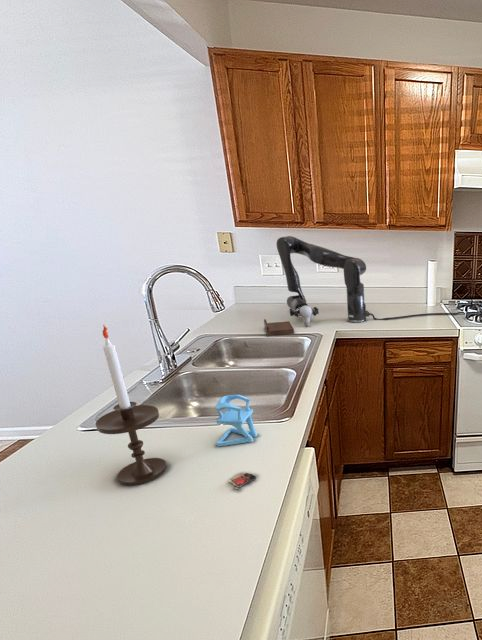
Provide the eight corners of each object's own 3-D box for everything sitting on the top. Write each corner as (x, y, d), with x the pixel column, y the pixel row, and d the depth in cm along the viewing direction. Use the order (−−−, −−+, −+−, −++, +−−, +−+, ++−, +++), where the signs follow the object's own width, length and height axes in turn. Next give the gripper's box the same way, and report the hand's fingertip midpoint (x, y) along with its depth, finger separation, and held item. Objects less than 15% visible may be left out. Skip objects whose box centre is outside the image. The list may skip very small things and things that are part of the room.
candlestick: (176, 474, 90) (141, 325, 77) (117, 495, 83) (67, 335, 70) (165, 453, 97) (131, 314, 85) (110, 471, 90) (64, 322, 78)
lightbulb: (308, 328, 200) (306, 307, 196) (298, 327, 202) (296, 306, 199) (315, 325, 206) (314, 305, 202) (306, 324, 208) (304, 303, 204)
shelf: (289, 325, 204) (288, 317, 203) (294, 333, 192) (293, 324, 190) (264, 328, 199) (263, 319, 198) (267, 336, 187) (266, 327, 185)
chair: (249, 447, 101) (242, 404, 96) (215, 446, 100) (207, 404, 96) (260, 431, 108) (255, 391, 104) (230, 430, 108) (223, 390, 103)
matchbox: (258, 476, 89) (257, 474, 89) (240, 490, 85) (240, 488, 85) (241, 471, 91) (241, 470, 91) (223, 485, 86) (223, 483, 86)
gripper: (286, 301, 210) (290, 308, 197) (314, 300, 216) (320, 306, 203) (288, 315, 213) (292, 323, 199) (315, 313, 219) (321, 320, 205)
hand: (306, 314), depth 201 cm, fingers open, 8 cm apart
